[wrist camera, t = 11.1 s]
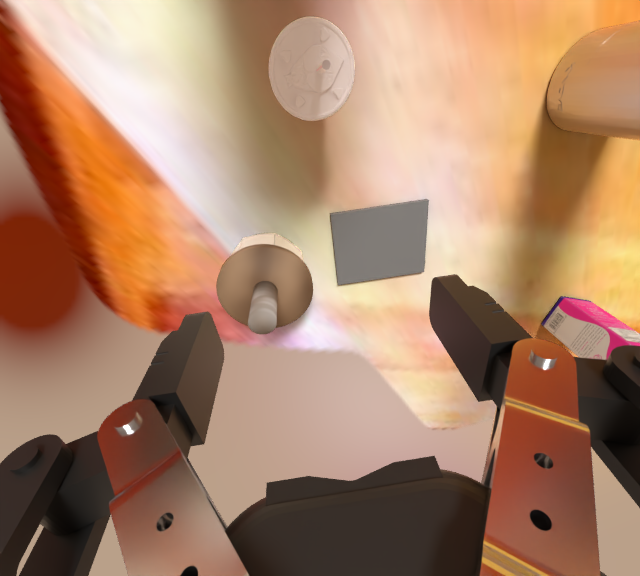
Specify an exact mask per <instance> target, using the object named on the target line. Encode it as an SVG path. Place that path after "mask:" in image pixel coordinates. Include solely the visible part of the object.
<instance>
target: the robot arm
mask: <svg viewBox="0 0 640 576" xmlns="http://www.w3.org/2000/svg"><path fill="white" fill-rule="evenodd" d="M547 110H548V113H549V117H550V118H551V120H552V122H553V123H554V124H555V125H556V126H557V127H559V128H561V129H563V130H566V131H573V132H581V133H589V134H595V135H602V136H610V137H617V138H625V139H633V140H640V21H635V22H631V23H626V24H621V25H616V26H611V27H607V28H602V29H599V30H597V31H594V32H591V33H590V34H588V35H587V36H585V37H583V38H582V39H581V40H579V41H578V42H577V43H576V44H575V45H574V46H572V47H571V49H570V50H569V51H568V52H567V53H566V54H565V56H564V57H563V58H562V60H561V61H560V63H559V64H558V66H557V68H556V70H555V72H554V74H553V76H552V78H551V81H550V85H549V88H548V94H547ZM429 316H430V322H431V325H432V328H433V330H434V331H435V333H436V335H437V336H438V338H439V339H440V341H441V343H442V344H443V346H444V347H445V349H446V350H447V352H448V354H449V355H450V357H451V358H452V360H453V362H454V363H455V365H456V366H457V368H458V370H459V371H460V373H461V374H462V376H463V378H464V379H465V381H466V382H467V384H468V386H469V387H470V389H471V390H472V392H473V394H474V395H475V397H476V398H477V400H478V402H480V401H487V400H493V401H494V402H495V404H496V405H497V407H496V411H495V416H494V421H493V427H492V432H491V437H490V443H489V448H488V453H487V459H486V464H485V468H484V473H483V477H482V481H481V483H480V482H478V481H476V480H473V479H472V478H469V477H467V476H464V475H461V474H459V473H456V472H451V471H447V470H441V469H440V468H439V466H438V463H437V461H436V458H435V456H431V457H424V458H419V459H412V460H406V461H400V462H394V463H391V464H389V465H387V466H385V467H383V468H381V469H379V470H376V471H374V472H372V473H370V474H368V475H366V476H364V477H361V478H359V479H357V480H354V481H345V480H337V479H328V478H320V477H311V476H306V477H300V478H294V479H288V480H281V481H275V482H269V483H267V489H266V498H263V499H261V500H260V501H258V502H256V503H255V504H253V505H251V506H250V507H249V508H247V509H246V510H245V511H244V512H242V513H241V514H240V515H239V516H238V517H237V518H236V519H235V520H234V521H233V522H232V523H231V524H230V525H229V526H228V527H227V525H226V523H225V522H224V520H223V518H222V517H221V515H220V513H219V512H218V510H217V508H216V506H215V505H214V503H213V501H212V500H211V498H210V496H209V494H208V492H207V491H206V489H205V487H204V486H203V484H202V482H201V480H200V479H199V477H198V475H197V473H196V471H195V470H194V468H193V466H192V465H191V463H190V461H189V459H188V458H187V457H188V454H189V450H190V446H195V445H202V444H204V443H205V438H206V434H207V430H208V426H209V421H210V417H211V413H212V409H213V404H214V400H215V395H216V392H217V387H218V382H219V378H220V374H221V370H222V366H223V362H224V349H223V345H222V342H221V339H220V337H219V334H218V331H217V329H216V326H215V324H214V321H213V318H212V316H211V314H210V313H209V312H202V313H195V314H189V315H186V316H185V317H184V319H183V321H182V323H181V326H180V328H179V330H177V331H172V332H171V333H170V334H169V335H168V336H167V337H166V338H165V339H164V340H163V341H162V342H161V344H160V346H159V348H158V350H157V352H156V356H155V357H154V358H153V360H152V362H151V366H149V368H148V370H147V372H146V374H145V376H144V378H143V380H142V382H141V384H140V386H139V388H138V390H137V392H136V394H135V396H134V398H133V400H132V401H130V402H128V403H126V404H123V405H122V406H120V407H118V408H117V409H115V410H114V411H113V412H112V413H111V414H110V415H108V416H107V418H106V419H105V420H104V421H103V423H102V424H101V426H100V428H99V430H98V431H97V432H94V433H92V434H89V435H87V436H85V437H82V438H80V439H77V440H75V441H72V442H70V443H68V444H65V443H64V442H63V441H62V440H61V439H60V438H59V437H58V436H56V435H43V436H40V437H37V438H34V439H32V440H30V441H28V442H26V443H25V444H23V445H21V446H20V447H18V448H17V449H16V450H14V451H13V452H12V453H11V454H10V455H8V456H7V457H6V458H5V459H4V460H3V461H2V462H1V463H0V576H16V574H17V569H18V565H19V562H20V561H21V558H22V557H23V555H24V553H25V551H26V549H27V547H28V545H29V543H30V541H31V539H32V538H33V536H34V534H35V532H36V530H37V528H38V526H39V524H41V525H42V526H44V528H43V530H42V532H41V534H40V536H39V538H38V540H37V542H36V544H35V546H34V547H33V549H32V551H31V553H30V555H29V557H28V559H27V561H26V563H25V565H24V567H23V569H22V571H21V573H20V575H19V576H88V575H89V572H90V569H91V566H92V564H93V561H94V558H95V555H96V553H97V550H98V547H99V544H100V542H101V539H102V536H103V533H104V531H105V528H106V525H107V523H108V520H109V517H110V515H111V517H112V520H113V524H114V527H115V531H116V535H117V538H118V542H119V545H120V548H121V552H122V556H123V559H124V563H125V566H126V570H127V573H128V576H606V575H605V574H604V573H602V572H601V571H600V563H599V548H598V535H597V521H596V508H595V495H594V480H593V468H592V453H591V447H592V448H593V450H594V451H595V452H596V453H597V455H598V456H599V457H600V458H601V460H602V461H603V462H604V463H605V465H606V466H607V467H608V468H609V470H610V471H611V472H612V473H613V475H614V476H615V477H616V479H617V480H618V481H619V482H620V484H621V485H622V486H623V487H624V489H625V490H626V491H627V492H628V494H629V495H630V496H631V497H632V499H633V500H634V501H635V502H636V504H637V505H638V506H639V508H640V346H635V345H623V346H619V347H616V348H614V349H613V350H612V352H611V353H610V355H609V357H608V359H607V360H603V359H591V358H579V357H573V356H572V355H571V354H570V353H569V352H568V351H567V350H566V349H564V348H563V347H561V346H559V345H557V344H555V343H553V342H550V341H547V340H543V339H535V338H532V337H531V336H530V335H529V334H528V333H527V332H526V331H525V330H524V329H523V328H522V327H521V326H520V325H519V324H518V323H517V322H516V321H515V320H514V319H513V318H512V317H511V316H510V315H509V314H508V313H507V312H504V309H503V308H502V307H501V306H500V305H499V304H496V301H495V300H494V299H493V298H492V297H491V296H490V295H489V294H488V293H486V292H484V291H482V290H481V289H479V288H477V287H475V286H467V285H466V284H465V283H464V282H463V281H462V279H461V278H460V277H459V276H458V275H455V274H454V275H448V276H441V277H435V278H433V280H432V285H431V298H430V310H429Z"/></svg>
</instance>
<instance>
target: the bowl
mask: <svg viewBox="0 0 640 576" xmlns="http://www.w3.org/2000/svg"><path fill="white" fill-rule="evenodd" d="M256 244H271V245H276V246H280V247H283V248H285V249H288V250H290V251H291V252H293V253H294V254H296V255H297V256H298V257H299V258H300V259H302V260H303V257H302V251H301V249H299V248H298V247H296V246H295V245H294V244H293V243H292V242H291V241H289V240H288V239H286V238H284V237H282V236H280V235H278V234H276V233H260V234H255V235H252V236H249V237H244V238H242V240H241V241H240V243H239V244H238V245H237V246H236V248H235V249H234V251H233V253H232V254H234V253H235V252H236V251H238V250H240V249H242V248H245V247H247V246H251V245H256ZM232 254H231V255H232Z"/></svg>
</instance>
